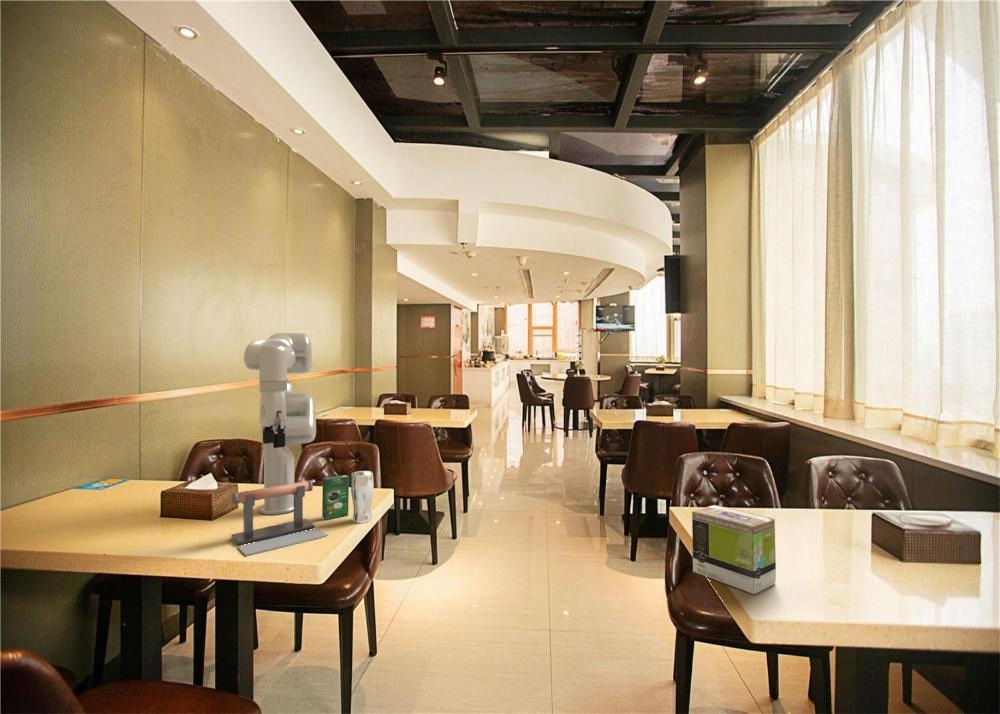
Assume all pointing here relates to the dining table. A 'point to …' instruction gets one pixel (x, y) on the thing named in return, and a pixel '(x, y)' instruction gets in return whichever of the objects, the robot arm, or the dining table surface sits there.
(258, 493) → the rod
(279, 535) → the hook stand
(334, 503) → the coffee box
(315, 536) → the mat
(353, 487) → the beer glass
